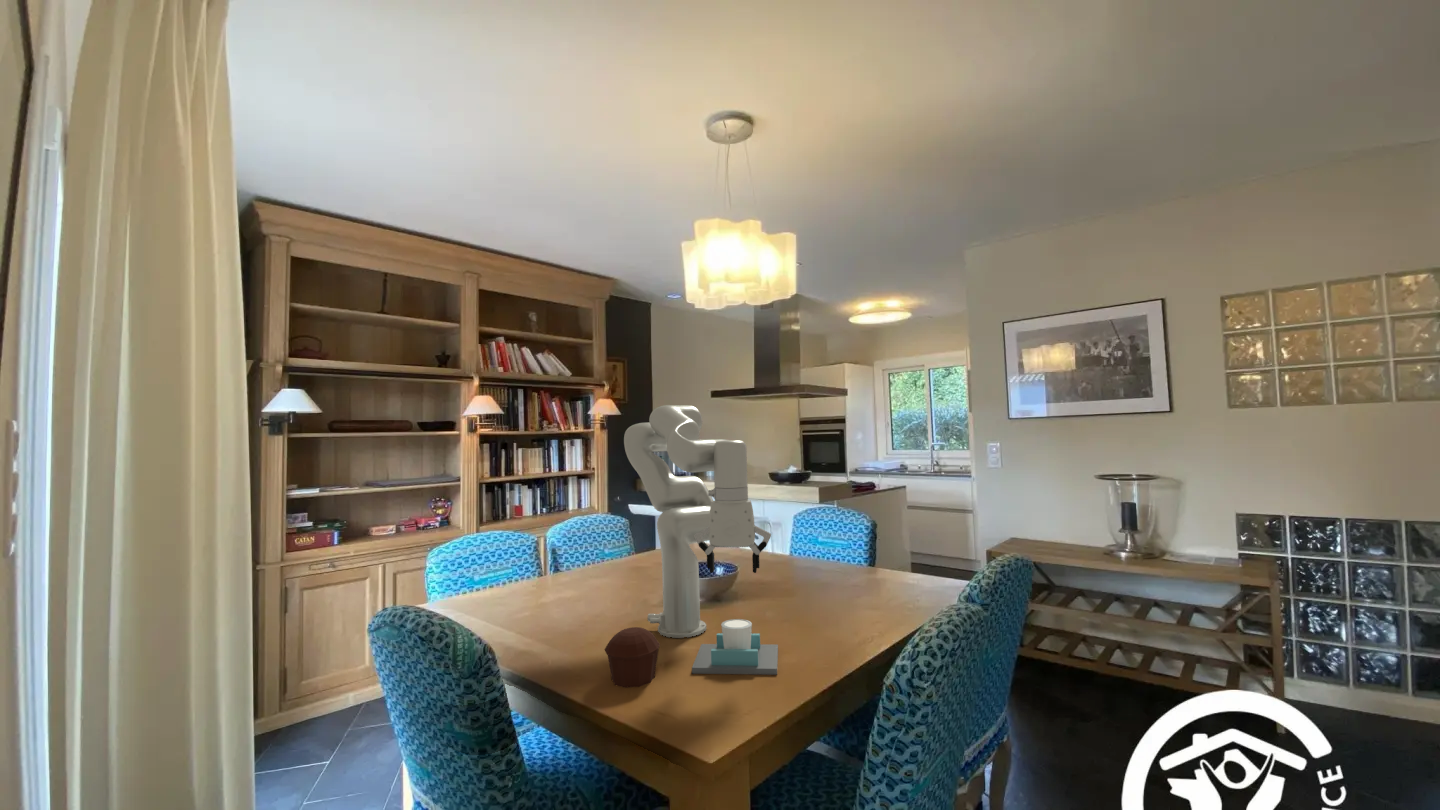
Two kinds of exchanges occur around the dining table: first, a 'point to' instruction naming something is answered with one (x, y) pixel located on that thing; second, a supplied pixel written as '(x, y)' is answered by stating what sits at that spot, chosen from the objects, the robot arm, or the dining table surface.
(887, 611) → the dining table surface
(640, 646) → the muffin
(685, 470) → the robot arm
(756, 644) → the clip holder
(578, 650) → the dining table surface
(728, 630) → the white cylinder
